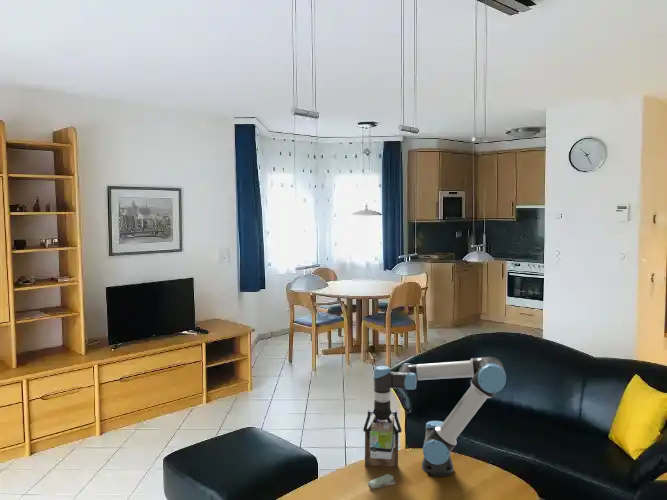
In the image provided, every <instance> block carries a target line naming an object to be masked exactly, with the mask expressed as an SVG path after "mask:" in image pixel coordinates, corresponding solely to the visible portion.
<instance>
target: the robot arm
mask: <svg viewBox="0 0 667 500" xmlns="http://www.w3.org/2000/svg"><path fill="white" fill-rule="evenodd" d="M373 373H374V374H373V386H374V387H373V390H374V391H373V399H374V401H373V402H374V403H373V404H374V407H373V410H370V409H367V417H366V419H365V423H364V426H363V432H364V433H365V432H367V439H368V440H370V447H371V425H372V422H373V423H374V422H377V421H378V420H387V421H388V422H389V423H392V421H391V419H390V417H391V415H392V417H394V422H395V423H394V424H393V430H394V432H393V446H394V448H395V440H398V441H399V433H402V431H403V430H402V427H401V424H400V420H399V417H398V410H397V409H395V410H391V389H397V390H406V391H407V390H408V391H409V390H416V389H417V382H418V381H425V380H441V379H442V380H443V379H458V378H459V379H460V378H461V379H463V378H471V379H470V380H469V381H470V387H469V388H468V389H467V390H466V392H465V393H464V394H463V396H462V397H461V399H459V401H458V402H457V404H456V405H455V406H454V408H453V409H452V410H451V412H450V413H449V415H448V416H446V418H445V420H444V421H440V420H429V421H428V422H426V423H425V437H424V441H423V445H422V453H423V459H422V462H421V470H423V471H424V472H425V473H427V475H430V476H433V477H448V476H451V475H452V474H453V473H454V471H455V469H454V464H453V460H452V456H451V453H452V451H453V450H454V448H455V447H456V445H457V438H459V436H460V434H461V433H462V432H463V431H464V429H465V428H466V426H467V425H468V424H469V422H470V421H471V420H472V419H473V417H474V416H475V415H476V414H477V412H478V411H479V409H480V408H481V407H482V406H483V404H484V403H485V402H486V401H487V399H492V398H493V397H494V396H495V395H496V394H497V392H500V391H501V390H503V389H504V387H505V385H506V383H507V382H506V381H507V374H506V371H505V367H504V364H503V363H502V361H501V360H500V359H498V358H496V357H493V356H483V357H482V356H481V357H471V358H470V359H469V360H459V361H444V362H433V363H432V362H431V363H418V364H412V363H409V362H406V363H402V365H401V366H400V367H399V370H398V371H391V367H389V366H388V365H387V366H386V365H378V366H376V367H375V368H374V372H373ZM372 415H374V416H375V418H374V417H373V419H374V420H373V419H372V421H371V422H370V420H371V416H372ZM369 423H370V424H369ZM395 424H396V426H395Z"/></svg>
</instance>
